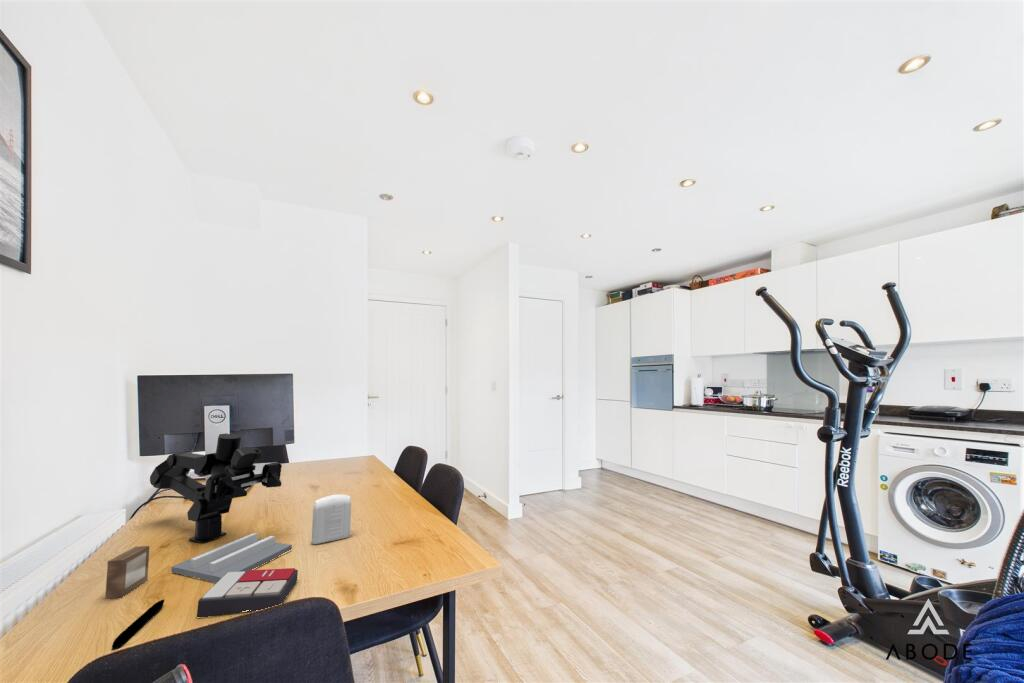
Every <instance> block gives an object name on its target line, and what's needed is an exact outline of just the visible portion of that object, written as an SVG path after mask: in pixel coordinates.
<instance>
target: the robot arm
mask: <svg viewBox="0 0 1024 683" xmlns="http://www.w3.org/2000/svg"><path fill="white" fill-rule="evenodd" d="M242 439H243V435H242V434H240V433H239V434H237V433H220V434H219V435H218V437H217V443H216V451H215V452H212V453H207V454H201V453H192V452H190V451H181V452H174V453H171V454H169V455H168V456H167V458H166V459H165V460H164V461H163V462H160V464H158V465H157V466H155V468H154V469H153V471H152V473H151V474H150V476H149V484H150V485H151V486H152V487H153V488H155V489H159V490H172V491H173V492H176V493H177V494H179V495H180V496H182V497H184V498H186V500H189V501H191V502H193V504H192V505H191V506H190V507H189V509H188V511H187V520H188V521H192V522H194V523H195V525H194V526H195V529H194V536H193V537H189V539H188V542H189V541H190V542H195V543H200V544H205V542H206V543H208V542H211V541H213V540H215V538H216V539H218V538H221V537H224V536H226V535H225V534H227V532H225V531H222V528H223V521H222V518H223V514H228V513H229V512H230V508H231V505H232V502H233V499H235V498H240V497H241V498H242V497H246V496H247V495H248V491H247V490H246V489H248V488H252V486H253V485H255V484H259V483H261V485H262V486H263V487H265V488H279V487H282V481H281V472H282V466H283V465H282V464H281V463H280V462H277V461H275V462H271V463H266V464H264V465H263V466H262V471H261V472H260V473H257V474H255V472H254V471H256V465H255V461H258V460H260V458H261V456H262V450H261V449H260V448H259V447H256V446H254V447H252V446H246V447H241V446H242ZM191 470H193V473H194V474H195V475H196V476H199V477H207V476H209V477H208V478H207V480H206V483H205V484H202V483H201V482H199V481H197V480H195V479H194V478H192V477H190V476H189V475H188V474H189V473H190V472H191ZM220 536H221V537H220ZM210 540H211V541H210Z"/></svg>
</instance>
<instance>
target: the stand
mask: <svg viewBox="0 0 1024 683" xmlns="http://www.w3.org/2000/svg"><path fill="white" fill-rule="evenodd" d="M291 549H292V550H293V545H292V544H289V543H284V542H278V541H276V536H274V535H269V536H267V537H265V538H263V539H259V538H258V533H255V532H253V533H251V534H248V535H244V536H242V537H239V538H237V539H234V540H233V541H229V542H227V543H225V544H222V545H220V546H218V547H215V548H213V549H211V550H208V551H205V552H203V553H201V554H199V555H196V556H194V557H191V558H188V559H187V560H185V561H181V562H180V563H176V564H175V565H172V566H171V570H170V571H171V572H172V573H171V574H173V573H176V574H175V575H177V574H181V575H180V576H182V575H186V576H190V577H189V578H191V577H195V578H200V579H203V580H202V581H204V580H207V581H206V582H208V581H210V582H209V583H213V582H215V583H214V584H216V583H217V582H218V581H219V580H220V579H221V578H222V577H223V576H224V575H225V574H226V573H228V572H243V571H245V572H247V571H249V570H252V569H254V568H256V567H258V566H260V565H262V564H264V563H266V562H268V561H270V560H272V559H274V558H276V557H278V556H279V555H281V554H283V553H285V552H287V551H289V550H291ZM278 558H279V557H278ZM276 559H277V558H276ZM274 560H275V559H274ZM272 561H273V560H272ZM270 562H271V561H270ZM268 563H269V562H268ZM266 564H267V563H266ZM186 576H185V577H186ZM195 578H194V579H195Z"/></svg>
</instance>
